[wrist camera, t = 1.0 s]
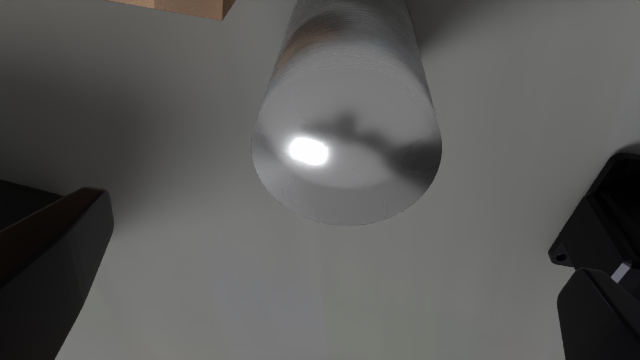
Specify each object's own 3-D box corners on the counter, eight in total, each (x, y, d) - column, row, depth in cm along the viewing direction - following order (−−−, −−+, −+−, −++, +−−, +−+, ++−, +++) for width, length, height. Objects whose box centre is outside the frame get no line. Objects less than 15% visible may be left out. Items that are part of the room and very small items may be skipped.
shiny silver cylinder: (426, -17, 16) (470, 87, 10) (393, 98, 19) (411, 237, 13) (297, -42, 16) (259, 50, 10) (283, 78, 19) (245, 210, 13)
